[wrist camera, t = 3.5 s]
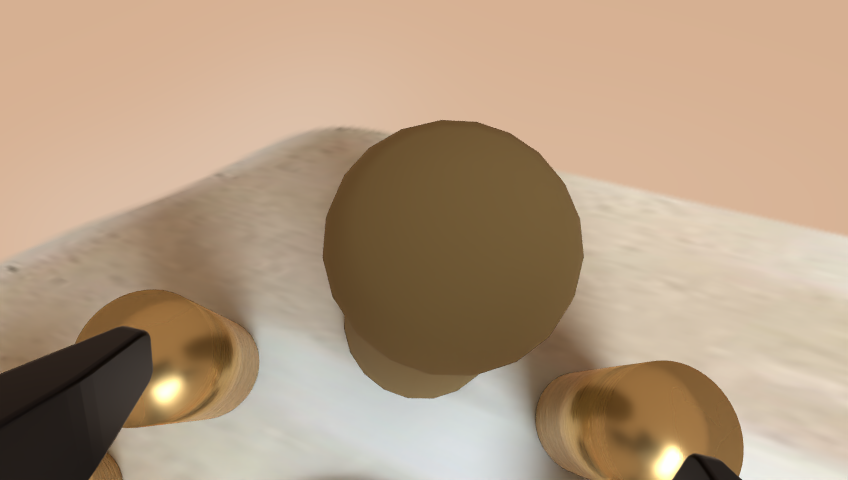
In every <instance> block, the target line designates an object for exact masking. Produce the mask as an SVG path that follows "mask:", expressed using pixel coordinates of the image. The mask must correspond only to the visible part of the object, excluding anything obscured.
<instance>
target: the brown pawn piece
mask: <svg viewBox="0 0 848 480" xmlns="http://www.w3.org/2000/svg"><path fill="white" fill-rule="evenodd" d="M583 258H584V255H583V245H582V235H581V224H580V218H579V216H578V213H577V211H576V209H575V206H574V204H573V202H572V199H571V197H570V195H569V192H568V190H567V188H566V185H565V184H564V182H563V181H562V180H561V178H560V177H559V176H558V175H557V174H556V172H555V171H554V170H553V169H552V168H551V167H550V165H549V164H548V163H547V162H546V161H545V159H544V158H543V157H542V156H541V155H540V153H539V152H537V151H536V150H534V149H533V148H531V147H530V146H528V145H527V144H525V143H524V142H522V141H521V140H519V139H518V138H516V137H515V136H513V135H512V134H510V133H508V132H505V131H502V130H499V129H496V128H493V127H490V126H487V125H484V124H481V123H478V122H465V121H448V120H447V121H446V120H440V121H436V122H431V123H427V124H423V125H418V126H414V127H410V128H406V129H401V130H400V131H398V132H396V133H394V134H393V135H391V136H389V137H387V138H386V139H384V140H382V141H380V142H379V143H377V144H375V145H373V146H372V147H370V148H369V149H368V150H367V151H366V152H365V153H364V154H363V155H362V156H361V158H360V159H359V160H358V161H357V162H356V163H355V164H354V165H353V166H352V167H351V168H350V170H349V171H348V172H347V173H346V174H345V175H344V177H343V179H342V182H341V184H340V186H339V189H338V191H337V193H336V195H335V198H334V200H333V202H332V204H331V207H330V209H329V212H328V214H327V217H326V224H325V236H324V248H323V261H324V265H325V269H326V272H327V276H328V280H329V284H330V288H331V292H332V296H333V298H334V300H335V301H336V303H337V304H338V306H339V307H340V309H341V310H342V312H343V313H344V315H345V323H344V329H345V333H346V337H347V341H348V345H349V349H350V352H351V354H352V355H353V357H354V359H355V360H356V362H357V363H358V365H359V366H360V368H361V369H362V371H363V373H364V374H365V375H367V376H368V377H369V378H370V379H372V380H373V381H374V382H375V383H377V384H378V385H379V386H380V387H382V388H383V389H384V390H387V391H390V392H393V393H395V394H398V395H401V396H404V397H407V398H436V397H439V396H442V395H445V394H448V393H451V392H455V391H458V390H459V389H460V388H461V387H463V386H464V385H465V384H467V383H468V382H469V381H471V380H472V379H473V378H475V377H476V376H477V375H478V374H480V373H483V372H487V371H490V370H493V369H496V368H499V367H502V366H505V365H508V364H511V363H514V362H517V361H518V360H519V359H521V358H522V357H523V356H525V355H526V354H527V353H529V352H530V351H531V350H532V349H534V348H535V347H536V346H538V345H539V344H540V343H542V342H543V341H544V340H545V339H547V338H548V337H549V336H550V335H551V333H552V331H553V330H554V328H555V327H556V325H557V324H558V322H559V321H560V319H561V317H562V316H563V314H564V313H565V311H566V310H567V308H568V307H569V305H570V304H571V301H572V299H573V297H574V295H575V291H576V287H577V283H578V279H579V275H580V270H581V266H582V262H583Z"/></svg>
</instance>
